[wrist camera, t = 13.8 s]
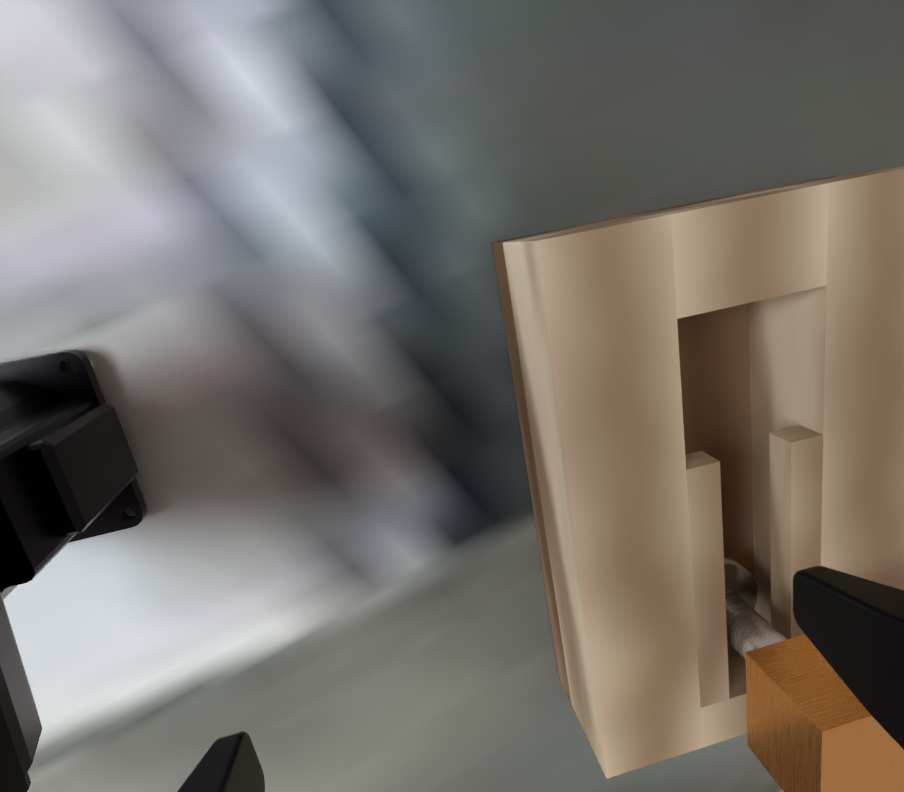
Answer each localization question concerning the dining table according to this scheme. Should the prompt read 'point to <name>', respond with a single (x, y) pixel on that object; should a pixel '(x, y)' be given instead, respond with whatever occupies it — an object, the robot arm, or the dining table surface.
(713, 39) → the dining table surface
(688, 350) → the keyhole track
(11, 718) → the robot arm
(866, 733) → the peg
